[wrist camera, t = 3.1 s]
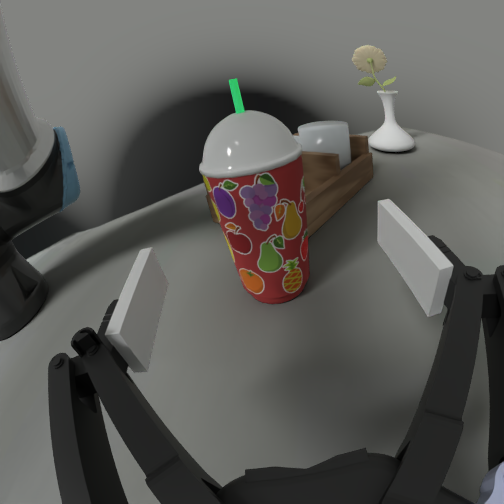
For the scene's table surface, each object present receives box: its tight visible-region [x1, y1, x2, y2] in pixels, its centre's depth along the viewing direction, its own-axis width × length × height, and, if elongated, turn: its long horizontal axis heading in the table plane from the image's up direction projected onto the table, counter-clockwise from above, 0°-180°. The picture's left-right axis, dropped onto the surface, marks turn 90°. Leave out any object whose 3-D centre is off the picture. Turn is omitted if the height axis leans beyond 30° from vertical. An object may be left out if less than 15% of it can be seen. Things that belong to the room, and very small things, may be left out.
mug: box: [293, 121, 352, 171], centre depth 46 cm, size 10×8×9 cm
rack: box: [203, 133, 373, 238], centre depth 45 cm, size 16×24×8 cm, turn 138°
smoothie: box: [199, 79, 310, 304], centre depth 25 cm, size 8×8×20 cm
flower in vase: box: [352, 45, 415, 152], centre depth 54 cm, size 13×11×25 cm
